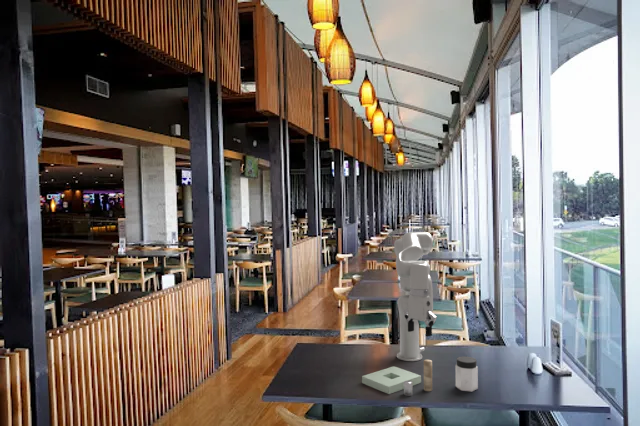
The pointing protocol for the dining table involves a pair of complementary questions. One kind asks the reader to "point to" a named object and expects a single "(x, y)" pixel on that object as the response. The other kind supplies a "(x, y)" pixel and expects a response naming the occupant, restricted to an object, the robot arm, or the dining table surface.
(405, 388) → the steel pin
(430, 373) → the birch pin
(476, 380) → the jar
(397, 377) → the hole board
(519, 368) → the dining table surface
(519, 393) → the dining table surface
